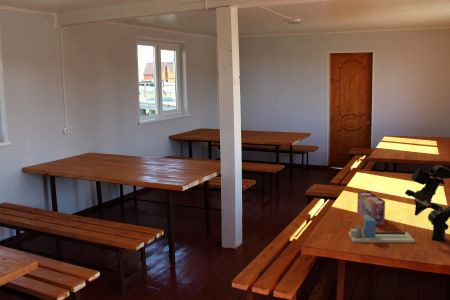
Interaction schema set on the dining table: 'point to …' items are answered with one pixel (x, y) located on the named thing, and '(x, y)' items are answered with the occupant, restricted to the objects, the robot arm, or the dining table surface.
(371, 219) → the blue block
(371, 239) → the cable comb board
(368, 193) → the gum box
